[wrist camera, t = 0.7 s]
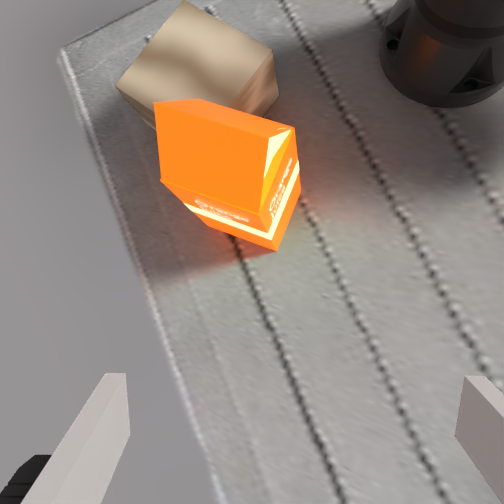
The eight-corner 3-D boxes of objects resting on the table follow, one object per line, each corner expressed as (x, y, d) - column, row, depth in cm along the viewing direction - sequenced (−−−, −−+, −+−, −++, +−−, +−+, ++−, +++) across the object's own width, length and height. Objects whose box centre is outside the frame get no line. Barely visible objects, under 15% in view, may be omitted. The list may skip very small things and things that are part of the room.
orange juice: (276, 252, 44) (247, 193, 25) (206, 226, 46) (127, 152, 27) (302, 189, 45) (292, 84, 26) (232, 166, 47) (173, 52, 27)
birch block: (203, 50, 50) (183, -1, 43) (279, 95, 48) (272, 49, 40) (146, 123, 50) (114, 85, 42) (219, 173, 47) (199, 143, 39)
